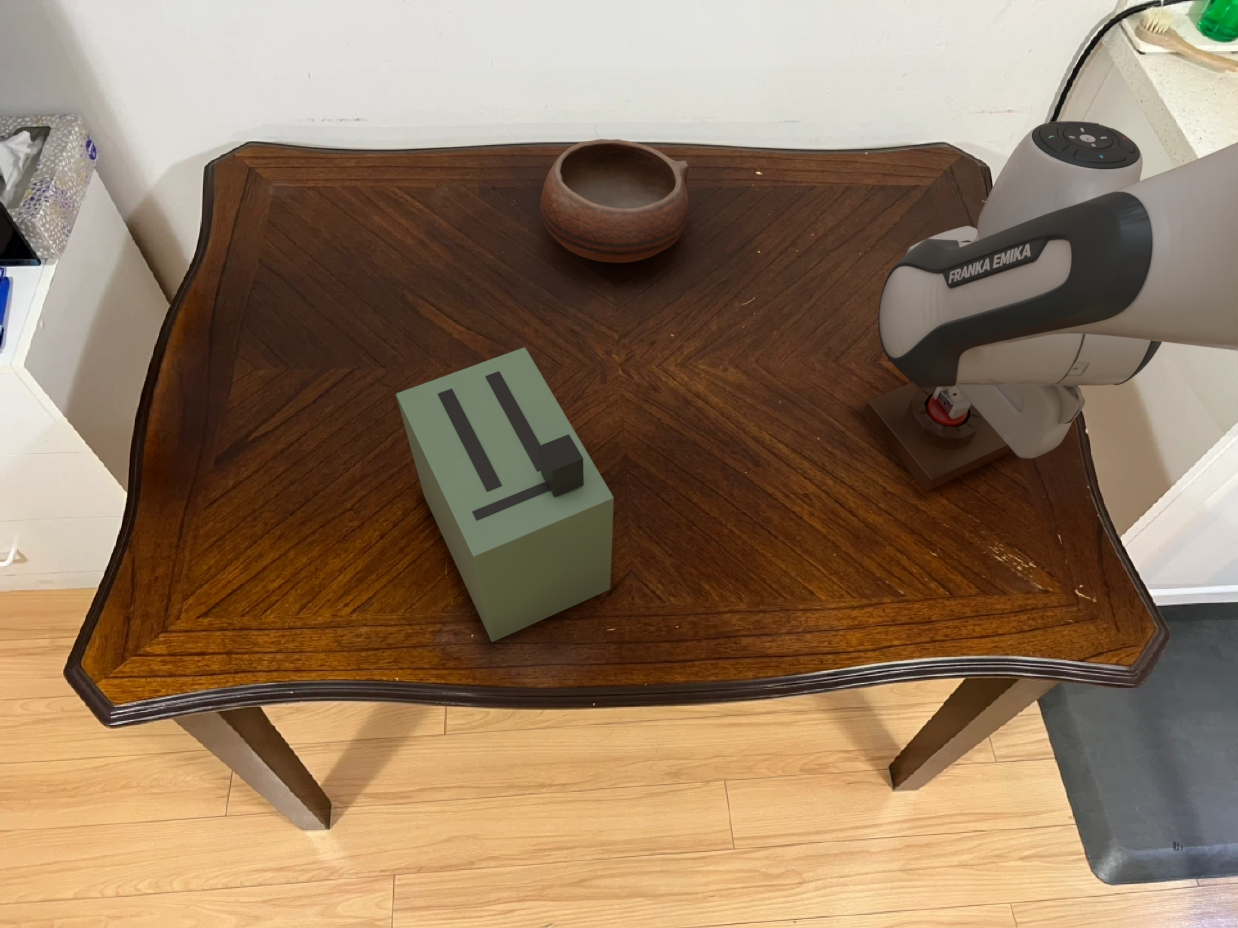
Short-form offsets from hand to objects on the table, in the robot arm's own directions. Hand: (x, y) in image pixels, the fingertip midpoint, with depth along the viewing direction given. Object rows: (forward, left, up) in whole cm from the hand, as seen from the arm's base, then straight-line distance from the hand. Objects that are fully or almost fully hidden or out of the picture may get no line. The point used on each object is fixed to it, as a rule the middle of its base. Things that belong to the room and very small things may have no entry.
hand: (948, 406), depth 88 cm
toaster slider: (+2, +38, +11) cm, 40 cm away
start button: (0, 0, -2) cm, 2 cm away
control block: (0, 0, -4) cm, 4 cm away
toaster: (+7, +41, -4) cm, 42 cm away
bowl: (+37, +16, -4) cm, 41 cm away
